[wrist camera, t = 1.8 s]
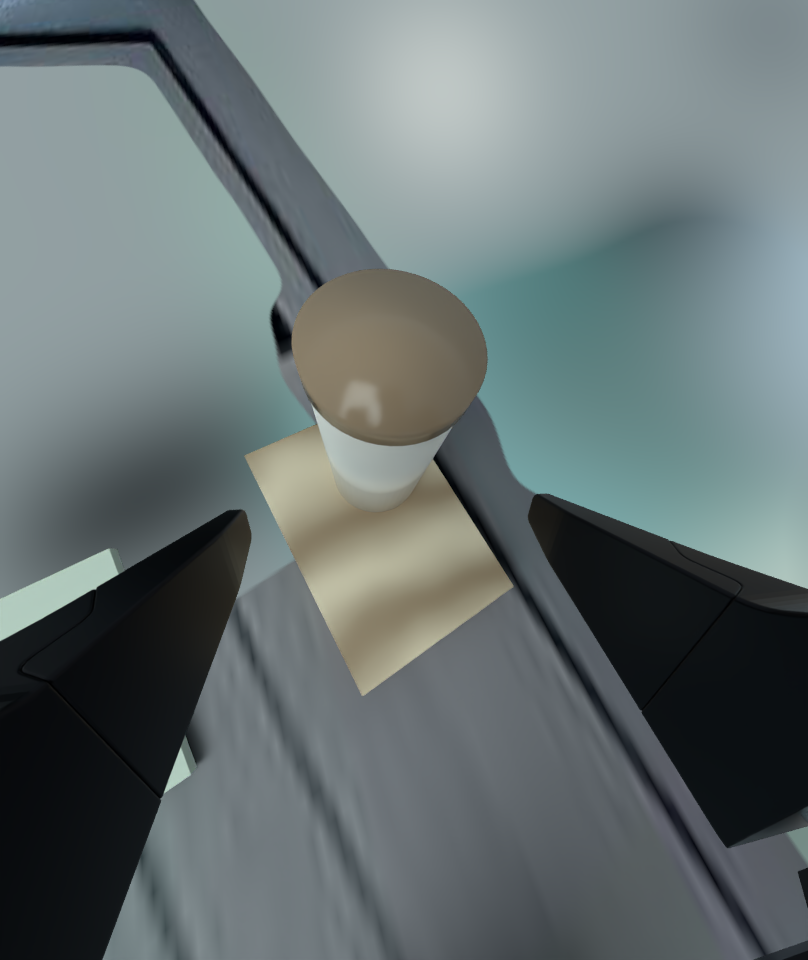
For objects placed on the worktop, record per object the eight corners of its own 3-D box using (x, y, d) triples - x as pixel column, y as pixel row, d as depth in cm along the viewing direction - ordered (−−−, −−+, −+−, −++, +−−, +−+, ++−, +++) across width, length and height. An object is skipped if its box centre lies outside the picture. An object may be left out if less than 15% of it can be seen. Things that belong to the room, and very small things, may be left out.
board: (503, 585, 21) (513, 586, 19) (362, 686, 18) (362, 696, 16) (388, 402, 24) (390, 391, 22) (252, 463, 21) (244, 455, 19)
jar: (433, 488, 20) (523, 382, 9) (358, 530, 19) (352, 467, 7) (391, 420, 21) (424, 250, 10) (317, 455, 20) (257, 300, 9)
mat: (196, 767, 16) (190, 774, 15) (-129, 990, 12) (-153, 1010, 12) (117, 549, 18) (109, 548, 18) (-173, 684, 15) (-194, 689, 14)
